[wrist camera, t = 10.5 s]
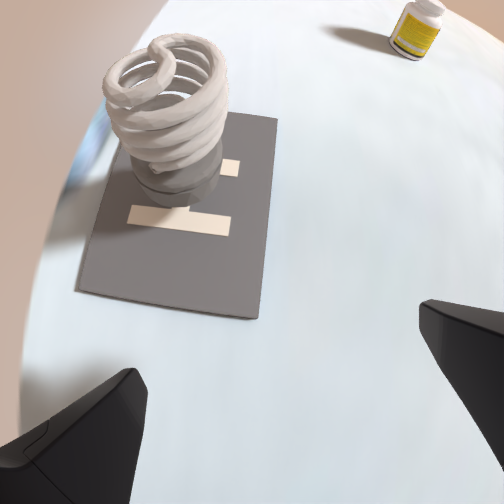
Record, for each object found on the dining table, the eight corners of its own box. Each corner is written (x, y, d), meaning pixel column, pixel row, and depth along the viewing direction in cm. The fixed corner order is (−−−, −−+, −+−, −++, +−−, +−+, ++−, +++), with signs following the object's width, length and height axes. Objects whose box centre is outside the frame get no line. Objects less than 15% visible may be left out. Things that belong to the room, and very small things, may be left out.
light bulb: (162, 152, 22) (135, 14, 11) (234, 169, 22) (248, 25, 11) (132, 217, 20) (65, 88, 9) (209, 239, 20) (201, 105, 9)
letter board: (257, 318, 20) (258, 317, 19) (81, 290, 19) (77, 288, 18) (276, 123, 25) (277, 117, 24) (139, 110, 24) (138, 104, 24)
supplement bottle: (427, 66, 32) (457, 17, 23) (394, 55, 32) (422, 0, 22) (415, 45, 34) (440, -1, 24) (383, 34, 33) (407, -16, 24)
